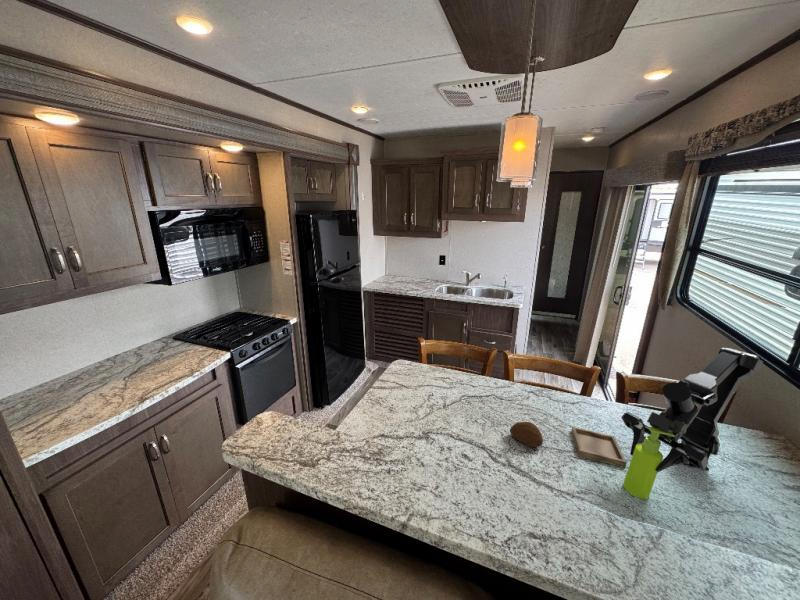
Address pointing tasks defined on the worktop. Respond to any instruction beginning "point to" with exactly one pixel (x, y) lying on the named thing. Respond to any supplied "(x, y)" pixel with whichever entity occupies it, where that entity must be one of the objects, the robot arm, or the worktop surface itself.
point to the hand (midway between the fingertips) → (643, 462)
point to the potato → (527, 434)
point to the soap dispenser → (644, 465)
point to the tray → (598, 446)
